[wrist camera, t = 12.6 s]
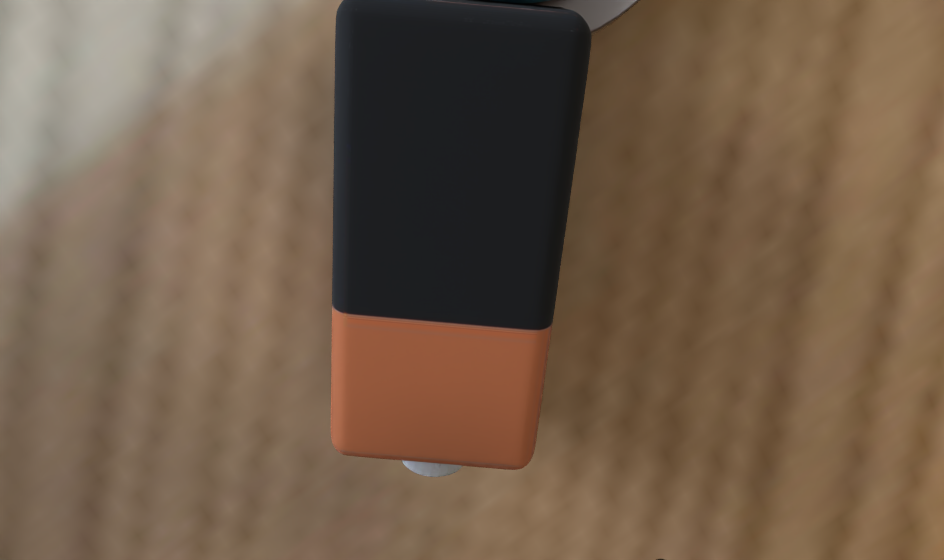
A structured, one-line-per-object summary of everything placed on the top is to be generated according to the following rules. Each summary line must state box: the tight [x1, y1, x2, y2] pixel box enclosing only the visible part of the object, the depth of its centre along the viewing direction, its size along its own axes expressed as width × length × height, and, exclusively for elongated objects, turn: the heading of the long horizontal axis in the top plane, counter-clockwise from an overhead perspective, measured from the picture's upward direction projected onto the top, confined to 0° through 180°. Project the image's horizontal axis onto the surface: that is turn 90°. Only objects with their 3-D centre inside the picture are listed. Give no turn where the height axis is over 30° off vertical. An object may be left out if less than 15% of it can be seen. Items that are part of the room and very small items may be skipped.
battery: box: [331, 0, 591, 477], centre depth 16 cm, size 4×7×10 cm
